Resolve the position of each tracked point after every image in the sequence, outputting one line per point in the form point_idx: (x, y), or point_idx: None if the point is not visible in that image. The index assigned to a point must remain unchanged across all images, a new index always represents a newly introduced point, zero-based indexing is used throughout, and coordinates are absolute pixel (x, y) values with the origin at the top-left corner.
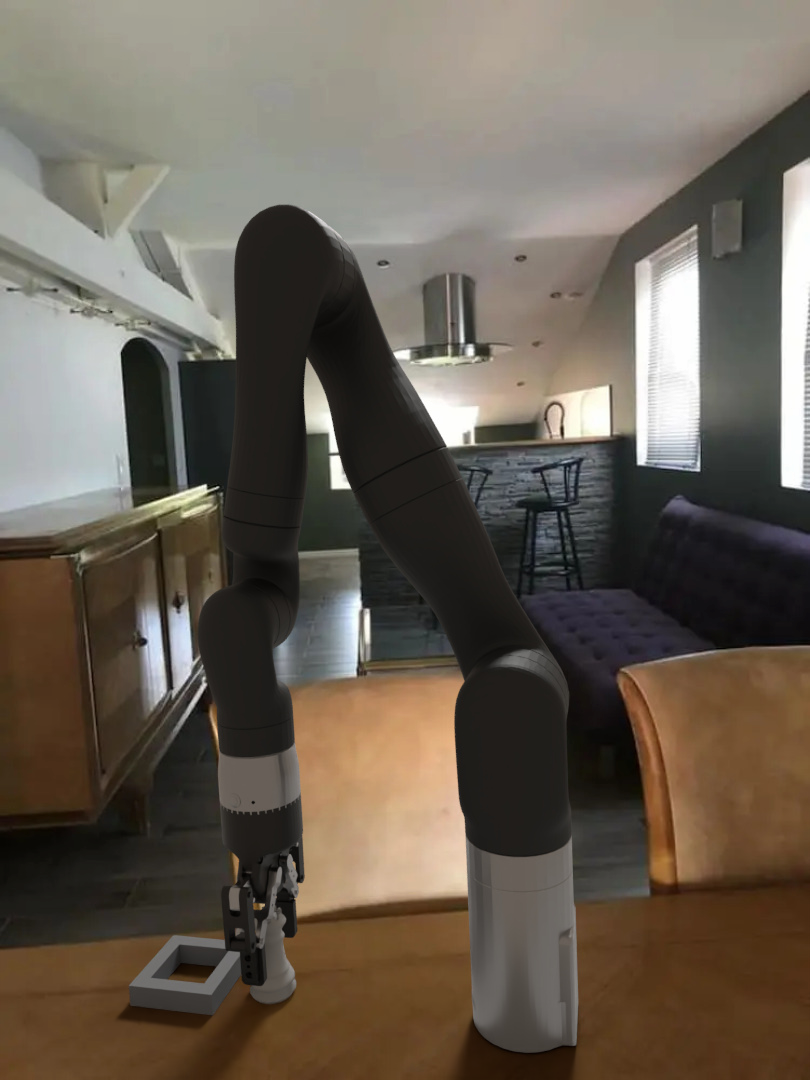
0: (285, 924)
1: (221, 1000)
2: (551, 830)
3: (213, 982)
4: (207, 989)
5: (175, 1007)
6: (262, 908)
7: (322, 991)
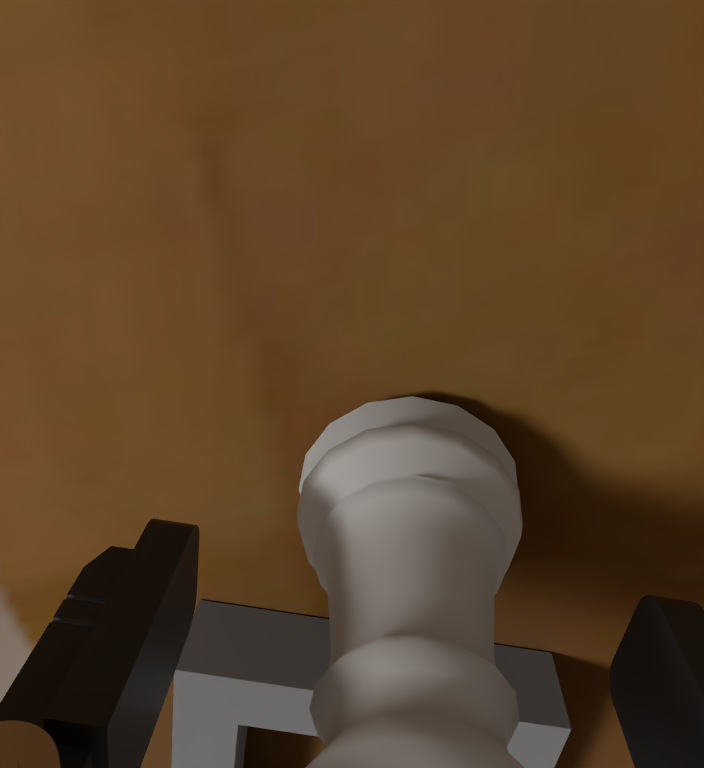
0: (171, 623)
1: None
2: None
3: None
4: (528, 745)
5: None
6: None
7: (410, 258)
